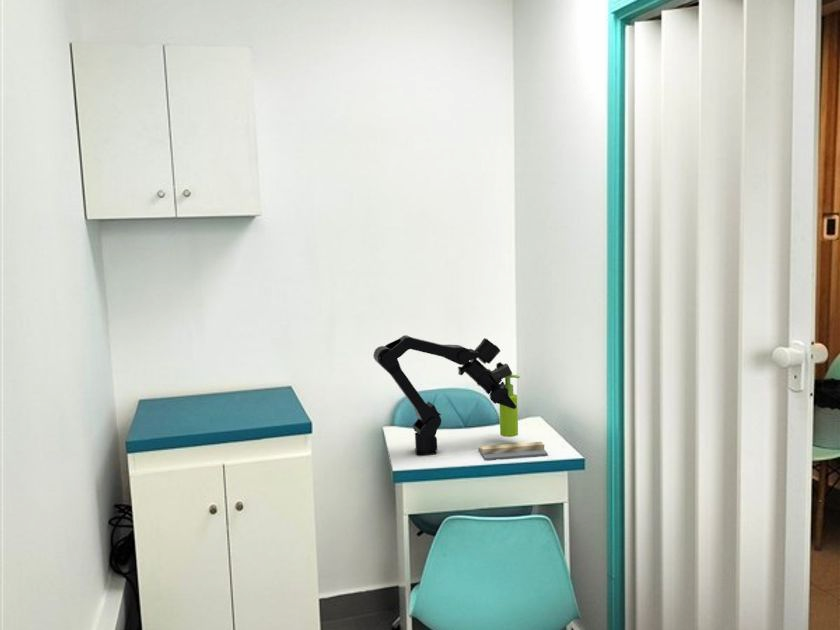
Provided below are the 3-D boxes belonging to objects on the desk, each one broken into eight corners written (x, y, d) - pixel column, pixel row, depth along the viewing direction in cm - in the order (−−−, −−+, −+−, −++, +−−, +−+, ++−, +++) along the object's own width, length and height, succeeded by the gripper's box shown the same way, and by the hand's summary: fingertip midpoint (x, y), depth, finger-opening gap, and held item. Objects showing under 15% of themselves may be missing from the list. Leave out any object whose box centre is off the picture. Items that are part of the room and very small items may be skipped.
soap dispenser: (520, 437, 247) (519, 377, 245) (499, 436, 249) (497, 377, 246) (521, 432, 253) (520, 373, 251) (501, 431, 255) (499, 373, 252)
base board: (484, 460, 235) (484, 458, 235) (478, 450, 246) (478, 447, 246) (547, 455, 237) (547, 453, 237) (538, 445, 248) (538, 443, 248)
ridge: (482, 454, 239) (482, 449, 238) (480, 451, 242) (480, 446, 242) (544, 449, 241) (544, 444, 240) (541, 446, 244) (541, 441, 244)
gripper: (500, 361, 239) (536, 394, 240) (493, 351, 257) (526, 382, 259) (476, 387, 239) (511, 419, 241) (471, 375, 258) (504, 405, 259)
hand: (514, 405), depth 250 cm, fingers closed on soap dispenser, 6 cm apart
